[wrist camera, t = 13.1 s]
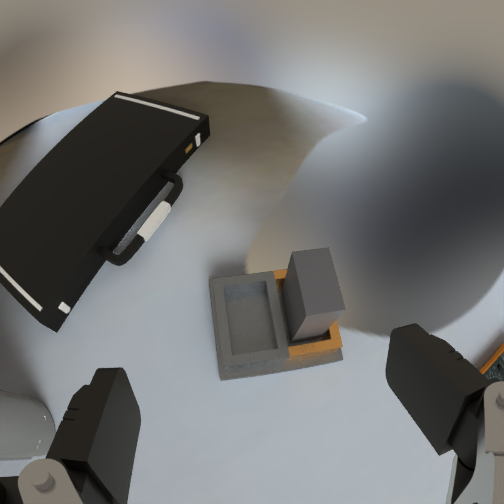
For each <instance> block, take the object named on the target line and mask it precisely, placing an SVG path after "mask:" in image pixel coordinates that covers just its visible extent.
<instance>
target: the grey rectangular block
mask: <svg viewBox="0 0 504 504" xmlns="http://www.w3.org/2000/svg"><path fill="white" fill-rule="evenodd" d="M281 299H282V304H283V309H284V314H285V320H286V325H287V330H288V335H289V341H290V343H296V342H302V341H308V340H313V339H319V338H320V337H321V336H322V335H323V334H324V333H325V332H326V331H327V330H328V329H329V327H330V326H331V325H332V324H333V323H334V322H335V321H336V320H337V318H338V317H339V316H340V315H341V314H342V313H343V311H345V306H344V302H343V299H342V294H341V291H340V287H339V283H338V279H337V276H336V272H335V269H334V265H333V261H332V258H331V255H330V251H329V248H320V249H312V250H304V251H296V252H292V255H291V258H290V262H289V266H288V269H287V273H286V276H285V280H284V284H283V287H282V291H281Z"/></svg>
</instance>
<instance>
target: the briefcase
mask: <svg viewBox="0 0 504 504" xmlns="http://www.w3.org/2000/svg"><path fill="white" fill-rule="evenodd" d="M209 130H210V129H209V116H208V115H205V114H202V113H199V112H195V111H192V110H189V109H185V108H182V107H178V106H174V105H171V104H167V103H163V102H160V101H156V100H152V99H148V98H144V97H140V96H136V95H131V94H127V93H122V92H118V91H117V92H116V93H114V94H113V95H112V96H111V97H109V98H108V99H107V100H106V101H104V102H103V103H102V104H101V105H100V106H98V107H97V108H96V109H95V110H94V111H93V112H91V113H90V114H89V115H88V116H87V117H86V118H85V119H83V120H82V121H81V122H80V123H79V124H78V125H77V126H76V127H75V128H73V129H72V130H71V131H70V132H69V133H68V134H67V135H66V136H65V137H64V138H63V139H62V140H61V141H60V142H59V143H58V144H57V145H56V146H55V147H54V148H53V149H52V150H51V151H50V152H49V153H48V154H47V155H46V156H45V157H44V158H43V159H42V160H41V161H40V162H39V163H38V164H37V165H36V166H35V167H34V168H33V170H32V171H31V172H30V173H29V174H28V175H27V176H26V177H25V178H24V180H23V181H22V182H21V183H20V184H19V185H18V186H17V188H16V189H15V190H14V191H13V192H12V194H11V195H10V196H9V197H8V198H7V200H6V201H5V202H4V203H3V205H2V206H1V207H0V283H1V284H2V285H3V286H4V287H5V288H6V289H7V290H8V291H9V292H10V293H11V294H12V296H13V297H14V298H15V299H16V300H17V301H18V302H19V303H20V304H21V305H22V306H23V307H24V308H25V309H26V310H27V311H28V312H29V313H30V314H31V315H32V316H33V317H34V318H35V319H37V320H38V321H39V322H40V323H41V324H43V325H45V326H46V327H48V328H50V329H52V330H53V331H55V332H58V330H59V329H60V327H61V326H62V324H63V323H64V321H65V319H66V318H67V316H68V315H69V313H70V312H71V310H72V309H73V307H74V306H75V304H76V303H77V301H78V300H79V298H80V297H81V295H82V294H83V292H84V291H85V289H86V288H87V286H88V285H89V284H90V282H91V281H92V279H93V278H94V276H95V275H96V274H97V272H98V271H99V269H100V268H101V267H102V265H103V264H104V262H105V261H106V260H107V261H109V262H111V263H112V264H114V265H117V266H121V265H123V264H125V263H126V262H128V261H129V260H130V259H131V258H132V256H133V255H134V254H135V253H136V252H137V251H138V249H139V248H140V247H141V246H142V244H143V243H144V242H147V240H148V239H149V238H150V237H151V236H152V234H153V233H154V232H155V231H156V230H157V228H158V227H159V226H160V224H161V223H162V222H163V220H164V219H165V218H166V216H167V215H168V213H169V212H170V210H171V207H172V205H173V204H174V202H175V201H176V199H177V198H178V196H179V195H180V193H181V191H182V189H183V182H182V179H181V177H180V176H178V175H177V174H175V173H176V172H177V171H178V170H179V169H180V168H181V166H182V165H183V164H184V163H185V162H186V161H187V160H188V159H189V157H190V156H191V155H192V154H193V153H194V152H195V151H196V150H197V149H198V148H199V146H200V145H201V144H202V143H203V142H204V141H205V140H206V139H207V138H208V137H209V136H210V131H209ZM168 181H170V182H172V183H174V184H175V185H174V187H173V188H172V190H171V191H170V193H169V194H168V196H167V197H166V199H165V200H164V201H162V202H161V203H160V204H159V205H158V207H157V208H156V209H155V210H154V211H153V213H152V214H151V215H150V216H149V218H148V219H147V220H146V221H145V223H144V224H143V225H142V227H141V228H140V229H139V231H138V232H137V236H136V237H135V238H134V239H133V240H132V242H131V243H130V244H129V245H128V246H127V247H126V249H125V250H124V251H123V252H122V253H121V254H120V255H115V254H113V253H112V252H113V250H114V249H115V248H116V246H117V245H118V244H119V242H120V241H121V240H122V238H123V237H124V236H125V234H126V233H127V232H128V230H129V229H130V228H131V227H132V225H133V224H134V223H135V222H136V220H137V219H138V218H139V217H140V215H141V214H142V213H143V212H144V210H145V209H146V208H147V207H148V205H149V204H150V203H151V202H152V200H153V199H154V198H155V197H156V196H157V194H158V193H159V192H160V191H161V190H162V188H163V187H164V186H165V185H166V184H167V183H168Z"/></svg>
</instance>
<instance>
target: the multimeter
mask: <svg viewBox="0 0 504 504" xmlns="http://www.w3.org/2000/svg"><path fill="white" fill-rule="evenodd" d="M479 371H480V372H481V373H482V374H483V375H484V376H485V377H486V378H487V379H488V380H489V381H491V382H492V383H495V382H500V381H504V343H503V344H502V345H501V346H500V347H499V349H498V350H497V351H496V352H495V354H494V355H493V356H492V357H491V358H490V360H489V361H488V362H487V363H486V364H485V365H484V366H483V367H482V368H481V369H480V370H479Z"/></svg>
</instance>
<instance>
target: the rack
mask: <svg viewBox="0 0 504 504" xmlns="http://www.w3.org/2000/svg"><path fill="white" fill-rule="evenodd" d="M286 273H287V269H284V270H278V271H270V272H261V273H254V274H246V275H238V276H230V277H222V278H213V279H209V286H210V295H211V304H212V313H213V322H214V331H215V339H216V347H217V355H218V363H219V371H220V378H221V381H223V380H231V379H239V378H247V377H254V376H261V375H267V374H274V373H280V372H286V371H291V370H297V369H302V368H308V367H313V366H318V365H323V364H328V363H333V362H337V361H342V360H343V356H342V352H341V347H343V346H342V342H341V337H340V333H339V329H338V324H337V321H335V322H334V323H333V324H332V325H331V326H330V327H329V329H328V330H327V331H326V332H325V333H324V334H323V335H322V336H321V337H320V338H319V339H313V340H308V341H302V342H296V343H290V341H289V335H288V330H287V325H286V320H285V314H284V309H283V304H282V299H281V291H282V287H283V284H284V280H285V276H286Z"/></svg>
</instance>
